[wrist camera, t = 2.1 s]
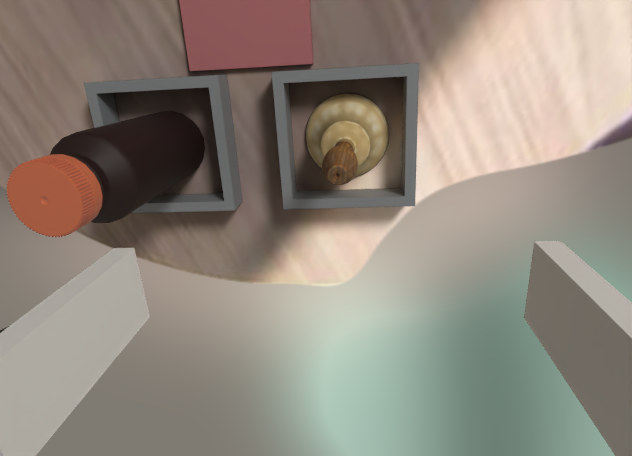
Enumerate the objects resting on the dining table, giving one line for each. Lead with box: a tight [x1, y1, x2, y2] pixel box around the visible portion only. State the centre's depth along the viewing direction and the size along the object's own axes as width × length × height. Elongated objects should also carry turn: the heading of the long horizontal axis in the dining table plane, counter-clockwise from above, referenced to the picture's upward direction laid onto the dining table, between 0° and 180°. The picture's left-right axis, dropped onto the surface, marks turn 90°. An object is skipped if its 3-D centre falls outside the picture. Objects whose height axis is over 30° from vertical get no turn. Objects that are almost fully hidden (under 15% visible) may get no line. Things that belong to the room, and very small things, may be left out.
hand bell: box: [306, 93, 389, 185], centre depth 35 cm, size 8×8×16 cm
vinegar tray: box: [84, 75, 242, 213], centre depth 43 cm, size 13×13×3 cm
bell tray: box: [272, 63, 419, 209], centre depth 41 cm, size 13×13×3 cm
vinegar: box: [7, 111, 205, 237], centre depth 35 cm, size 7×7×20 cm
